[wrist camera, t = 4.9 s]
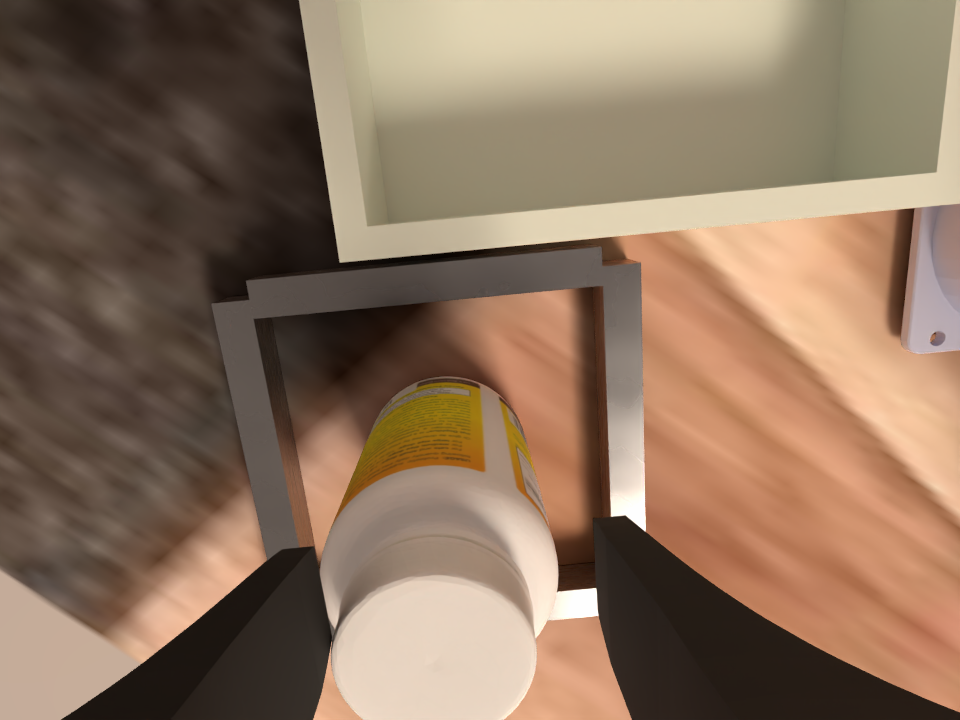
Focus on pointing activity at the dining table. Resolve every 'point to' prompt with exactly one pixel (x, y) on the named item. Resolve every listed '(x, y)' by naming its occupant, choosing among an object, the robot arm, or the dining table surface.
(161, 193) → the dining table surface
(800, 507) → the dining table surface
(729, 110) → the bin
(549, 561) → the supplement bottle
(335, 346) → the dining table surface
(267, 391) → the socket collar
